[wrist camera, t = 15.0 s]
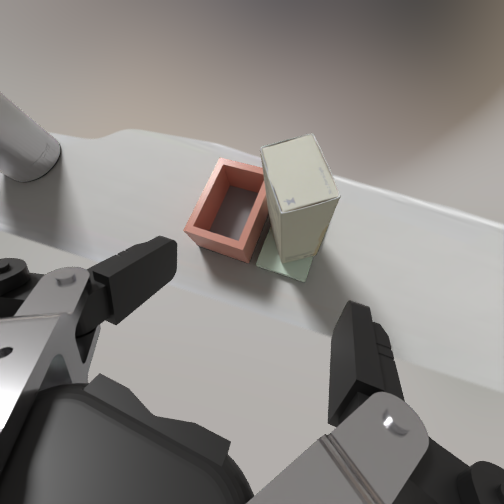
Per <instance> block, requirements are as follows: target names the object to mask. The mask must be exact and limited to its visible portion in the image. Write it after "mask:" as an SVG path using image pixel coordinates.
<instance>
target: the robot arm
mask: <svg viewBox="0 0 504 504" xmlns="http://www.w3.org/2000/svg"><path fill="white" fill-rule="evenodd" d="M59 155H60V145H59V142H58V141H57V140H56V139H55V138H54V137H53V136H51V135H50V134H49V133H48V132H47V131H46V130H44V129H43V128H42V127H41V126H40V125H39V124H37V123H36V122H35V121H34V120H33V119H32V118H31V117H29V116H28V115H27V114H26V113H25V112H24V111H22V110H21V109H20V108H19V107H18V106H16V105H15V104H14V103H13V102H12V101H11V100H9V99H8V98H7V97H6V96H5V95H3V94H2V93H1V92H0V172H1V173H3V174H5V175H6V176H8V177H10V178H12V179H13V180H16V181H20V182H26V181H31V180H35V179H37V178H39V177H41V176H42V175H44V174H45V173H47V172H48V171H49V170H50V169H51V168H52V167H53V166H54V165H55V163H56V161H57V160H58V157H59ZM176 270H177V243H176V241H175V240H172V239H169V238H166V237H163V236H158V237H156V238H154V239H152V240H150V241H148V242H145V243H141V244H137V245H134V246H132V247H130V248H128V249H126V251H122V252H120V253H118V255H114V256H112V257H110V258H108V259H106V260H104V261H102V262H100V263H98V264H96V265H94V266H92V267H91V268H89V269H87V270H86V269H83V268H80V267H66V268H60V269H57V270H54V271H51V272H49V273H47V274H46V275H44V274H36V273H29V270H28V268H27V265H26V263H25V261H23V260H20V259H15V258H4V259H0V504H504V469H502V468H501V467H499V466H497V465H495V464H492V463H490V462H486V461H479V462H476V463H474V464H473V465H471V466H470V467H469V466H468V465H467V464H465V463H464V462H462V461H461V460H460V459H458V458H457V457H455V456H454V455H453V454H451V453H450V452H448V451H447V450H446V449H444V448H443V447H442V446H440V445H439V444H437V443H436V442H435V441H434V440H432V439H431V438H430V437H429V436H428V433H427V431H426V428H425V426H424V424H423V422H422V421H421V419H420V417H419V416H418V415H417V413H416V412H415V411H414V410H413V409H412V408H411V407H410V406H409V405H408V404H407V403H406V402H405V401H404V397H403V393H402V388H401V385H400V381H399V377H398V372H397V369H396V365H395V361H394V356H393V352H392V350H391V344H390V340H389V336H388V335H387V333H386V332H385V331H384V329H383V328H382V326H381V325H380V324H378V323H375V322H372V317H371V311H370V308H369V307H368V306H365V305H362V304H359V303H356V302H353V301H350V300H349V301H348V302H347V304H346V306H345V308H344V310H343V312H342V314H341V316H340V318H339V320H338V322H337V324H336V326H335V329H334V331H333V335H332V340H331V359H330V361H331V362H330V384H329V407H328V408H329V409H328V424H330V425H332V426H335V427H337V428H336V429H334V431H332V432H331V433H330V434H329V435H326V434H325V435H323V436H322V437H320V438H319V439H318V440H317V441H316V442H314V443H313V444H312V445H311V446H310V447H309V448H308V449H307V450H305V451H304V452H303V453H302V454H301V455H300V456H299V457H298V458H297V459H296V460H294V461H293V462H292V463H291V464H290V465H289V466H288V467H286V469H284V470H283V471H282V472H281V473H280V474H279V475H278V476H276V477H275V478H274V479H273V480H272V481H271V482H270V483H269V484H267V485H266V486H265V487H264V488H263V489H262V490H261V491H260V492H259V493H257V494H256V495H255V496H254V494H253V492H252V490H251V488H250V485H249V483H248V481H247V479H246V478H245V476H244V474H243V472H242V471H241V470H240V468H239V467H238V465H237V464H236V463H235V461H234V460H233V459H232V458H231V457H230V456H229V455H228V450H229V447H230V443H231V442H230V441H228V440H227V439H225V438H223V437H221V436H219V435H217V434H215V433H213V432H211V431H209V430H207V429H206V428H204V427H202V426H199V425H198V424H196V423H192V422H186V421H180V420H175V419H169V418H163V417H157V416H155V415H153V414H152V413H150V411H149V410H148V409H147V408H146V407H145V406H144V405H143V404H142V403H141V401H139V399H138V398H137V397H136V396H135V395H134V394H133V393H132V392H131V391H130V389H128V388H127V387H125V386H123V385H121V384H119V383H117V382H115V381H113V380H111V379H110V378H108V377H106V376H104V375H102V374H99V375H98V376H96V377H95V378H94V379H93V380H92V381H91V382H90V383H88V371H89V367H90V364H91V361H92V357H93V354H94V350H95V347H96V343H97V340H98V337H99V333H100V324H101V323H102V322H103V321H104V320H106V321H108V322H110V323H113V324H115V325H117V324H118V323H120V322H121V321H122V320H123V319H124V318H126V317H127V316H128V315H129V314H131V313H132V312H133V311H134V310H135V309H136V308H138V307H139V306H140V305H142V304H143V303H144V302H145V301H146V300H147V299H149V298H150V297H151V296H152V295H154V294H155V293H156V292H157V291H159V290H160V289H161V288H162V287H163V286H165V285H166V284H167V283H168V282H169V281H171V280H172V279H173V277H174V275H175V273H176Z"/></svg>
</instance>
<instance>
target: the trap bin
mask: <svg viewBox="0 0 504 504" xmlns="http://www.w3.org/2000/svg"><path fill="white" fill-rule="evenodd" d="M267 216H268V206H267V198H266V190H265V183H264V175H263V168H260V167H256V166H252V165H248V164H244V163H240V162H236V161H232V160H228V159H224V158H219V160H218V162H217V164H216V166H215V168H214V170H213V172H212V174H211V176H210V178H209V180H208V182H207V184H206V186H205V188H204V190H203V192H202V194H201V196H200V198H199V200H198V202H197V204H196V206H195V208H194V210H193V212H192V214H191V216H190V218H189V220H188V222H187V224H186V226H185V228H184V230H183V231H184V232H185V233H186V234H187V235H188V236H189V237H190V238H191V239H192V240H193V241H194V242H195V243H196V244H197V245H198V246H199V247H202V248H205V249H208V250H211V251H214V252H217V253H220V254H223V255H226V256H228V257H231V258H234V259H237V260H240V261H243V262H246V263H249V262H250V259H251V257H252V254H253V252H254V249H255V247H256V244H257V242H258V239H259V236H260V234H261V231H262V229H263V226H264V224H265V221H266V219H267Z"/></svg>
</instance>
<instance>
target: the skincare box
mask: <svg viewBox="0 0 504 504" xmlns="http://www.w3.org/2000/svg"><path fill="white" fill-rule="evenodd" d="M260 152H261V160H262V167H263V175H264V183H265V190H266V198H267V206H268V214H269V221H270V225H271V229H272V233H273V236H274V240H275V243H276V247H277V250H278V254H279V257H280V260H281V263H287V262H291V261H295V260H299V259H303V258H307V257H310V256H314V255H316V254H317V252H318V249H319V247H320V245H321V242H322V240H323V237H324V235H325V232H326V230H327V228H328V225H329V223H330V220H331V218H332V215H333V213H334V211H335V208H336V206H337V203H338V201H339V199H340V193H339V190H338V188H337V185H336V182H335V180H334V178H333V175H332V173H331V171H330V168H329V166H328V164H327V162H326V160H325V157H324V155H323V153H322V151H321V149H320V147H319V144H318V143H317V140H316V138H315V136H314V134H307V135H303V136H300V137H296V138H292V139H288V140H284V141H280V142H277V143H273V144H269V145H266V146H262V147H261V148H260Z"/></svg>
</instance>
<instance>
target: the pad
mask: <svg viewBox="0 0 504 504" xmlns="http://www.w3.org/2000/svg"><path fill="white" fill-rule="evenodd" d="M312 259H313V256H310V257H307V258H303V259H299V260H295V261H291V262H287V263H281V260H280V257H279V254H278V250H277V247H276V243H275V240H274V236H273V233H272V229H271V226H270V229H269V231H268V234H267V237H266V239H265V242H264V244H263V247H262V250H261V252H260V255H259V257H258V260H257V263H256V266H258V267H261V268H263V269H266V270H269V271H272V272H275V273H278V274H281V275H284V276H287V277H290V278H293V279H296V280H298V281H301V282H304V283H305V281H306V278H307V275H308V272H309V269H310V265H311V262H312Z"/></svg>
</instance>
